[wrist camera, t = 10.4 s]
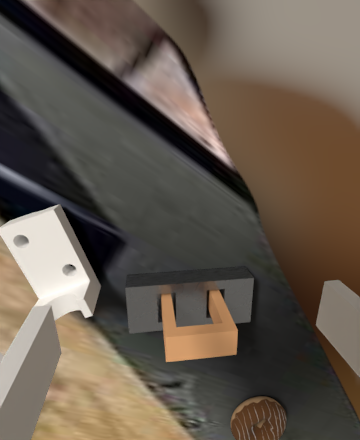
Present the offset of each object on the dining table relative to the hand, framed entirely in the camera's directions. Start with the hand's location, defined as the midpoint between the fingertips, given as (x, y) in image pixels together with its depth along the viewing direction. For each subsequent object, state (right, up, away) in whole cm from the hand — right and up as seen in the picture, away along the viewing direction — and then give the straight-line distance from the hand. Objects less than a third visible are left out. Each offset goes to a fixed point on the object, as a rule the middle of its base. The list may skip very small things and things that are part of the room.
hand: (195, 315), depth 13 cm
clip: (+1, -7, +28) cm, 29 cm away
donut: (+14, -32, +40) cm, 53 cm away
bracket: (-18, 0, +25) cm, 31 cm away
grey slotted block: (0, -7, +29) cm, 30 cm away
